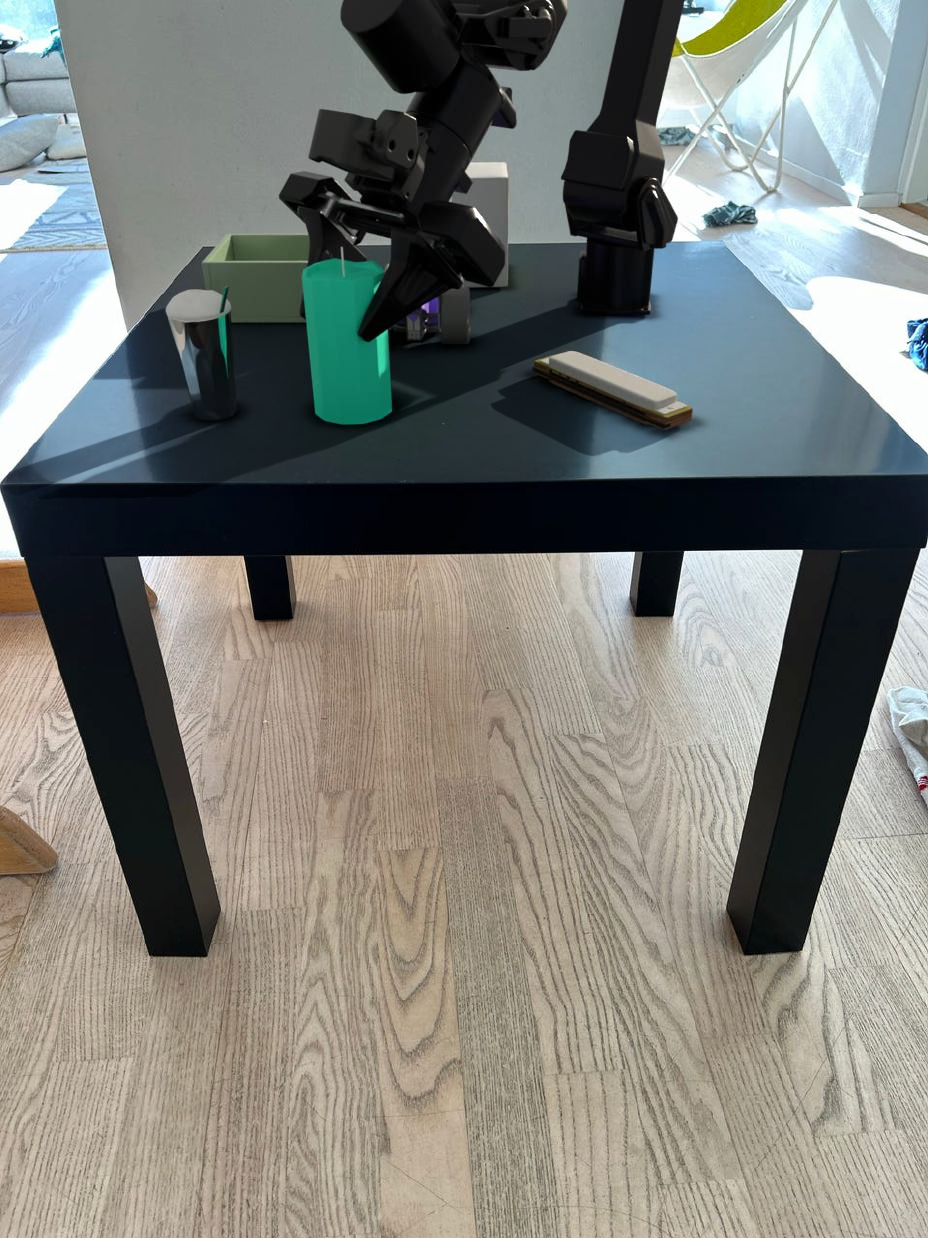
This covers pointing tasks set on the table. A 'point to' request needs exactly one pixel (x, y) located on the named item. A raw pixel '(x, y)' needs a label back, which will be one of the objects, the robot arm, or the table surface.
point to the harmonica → (614, 389)
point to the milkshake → (205, 350)
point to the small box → (489, 204)
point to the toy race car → (440, 317)
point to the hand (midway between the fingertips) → (332, 328)
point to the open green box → (259, 275)
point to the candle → (345, 342)
